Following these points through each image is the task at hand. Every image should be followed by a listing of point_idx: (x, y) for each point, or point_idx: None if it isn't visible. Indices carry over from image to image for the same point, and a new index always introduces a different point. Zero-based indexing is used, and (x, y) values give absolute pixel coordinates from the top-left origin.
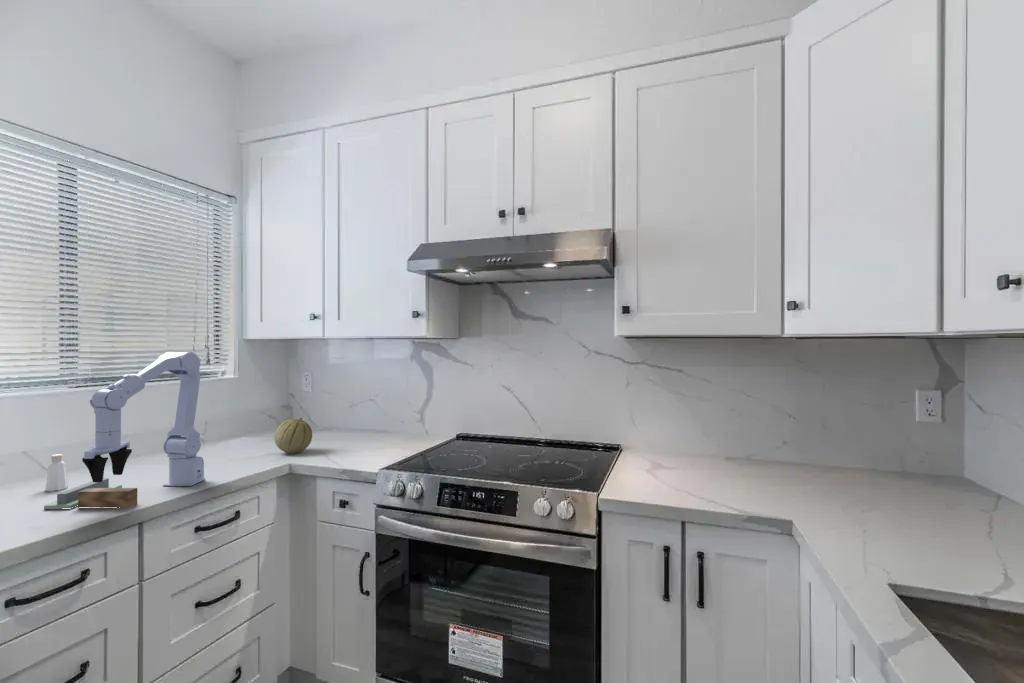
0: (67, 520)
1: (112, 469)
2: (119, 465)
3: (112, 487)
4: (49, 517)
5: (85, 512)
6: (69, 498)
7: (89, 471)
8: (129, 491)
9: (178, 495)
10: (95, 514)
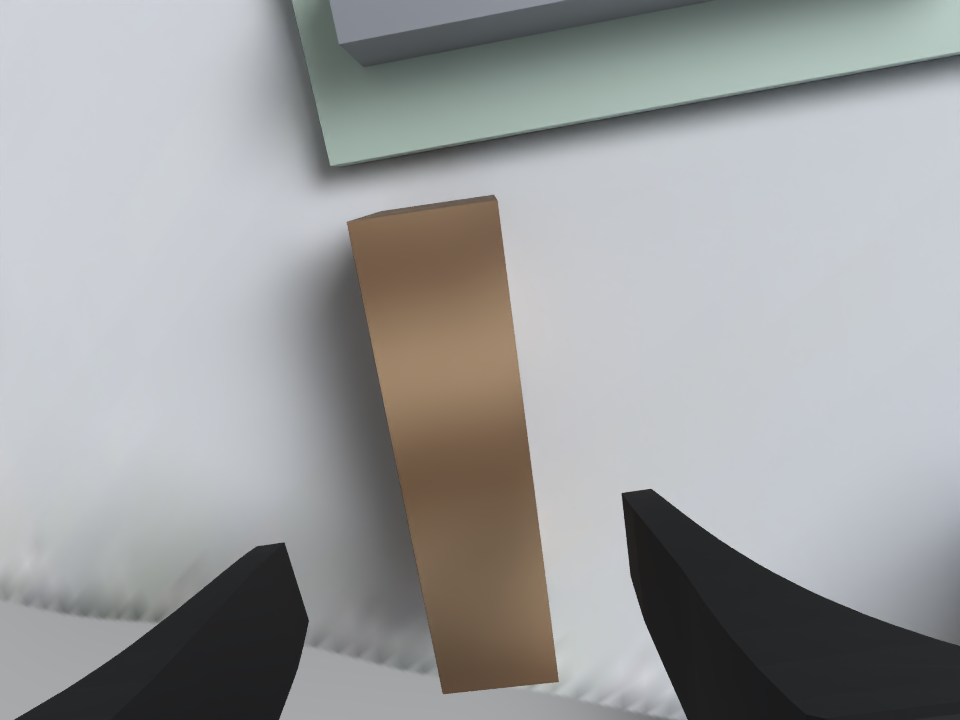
0: (138, 404)
1: (644, 522)
2: (678, 661)
3: (956, 17)
4: (143, 191)
5: (310, 370)
6: (403, 49)
7: (131, 649)
8: (456, 689)
9: None
10: (291, 483)
